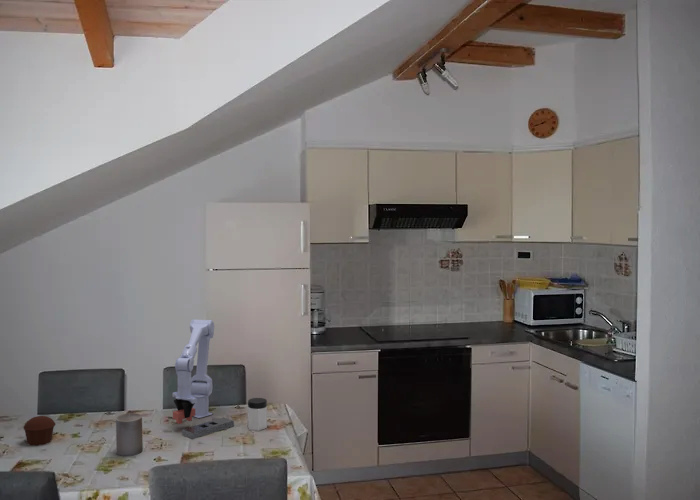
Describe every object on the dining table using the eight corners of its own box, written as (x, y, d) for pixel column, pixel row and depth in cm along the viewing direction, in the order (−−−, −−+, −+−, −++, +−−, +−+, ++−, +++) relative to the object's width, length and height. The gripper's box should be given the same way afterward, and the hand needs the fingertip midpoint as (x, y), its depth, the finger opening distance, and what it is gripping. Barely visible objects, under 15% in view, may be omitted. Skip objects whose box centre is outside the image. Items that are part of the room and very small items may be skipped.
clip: (172, 423, 277) (172, 411, 277) (190, 418, 284) (190, 407, 284) (177, 425, 275) (177, 413, 275) (195, 420, 282) (195, 408, 282)
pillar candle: (133, 445, 260) (133, 408, 259) (147, 451, 254) (147, 413, 253) (111, 452, 252) (110, 414, 251) (125, 458, 246) (124, 419, 245)
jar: (246, 424, 287) (246, 398, 287) (264, 423, 290) (264, 396, 289) (249, 431, 279) (249, 403, 278) (268, 429, 281) (268, 402, 280)
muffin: (20, 447, 255) (20, 422, 255) (26, 438, 266) (26, 414, 265) (53, 445, 258) (53, 420, 258) (58, 435, 269) (57, 412, 268)
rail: (182, 435, 273) (182, 429, 272) (223, 422, 289) (223, 417, 289) (192, 439, 268) (192, 433, 268) (233, 426, 285) (233, 420, 285)
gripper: (166, 384, 280) (166, 414, 281) (186, 390, 271) (186, 422, 272) (180, 380, 286) (180, 411, 287) (200, 387, 277) (200, 418, 277)
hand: (184, 416), depth 280 cm, fingers closed on clip, 3 cm apart
